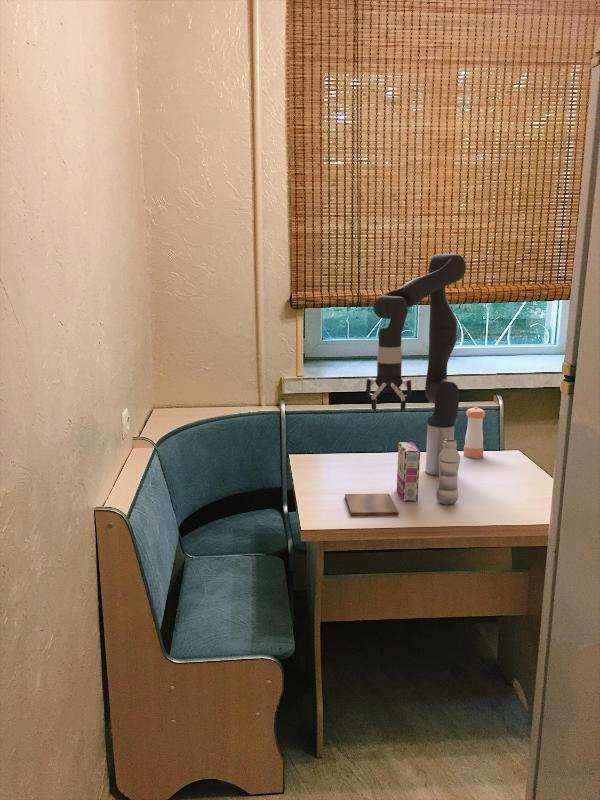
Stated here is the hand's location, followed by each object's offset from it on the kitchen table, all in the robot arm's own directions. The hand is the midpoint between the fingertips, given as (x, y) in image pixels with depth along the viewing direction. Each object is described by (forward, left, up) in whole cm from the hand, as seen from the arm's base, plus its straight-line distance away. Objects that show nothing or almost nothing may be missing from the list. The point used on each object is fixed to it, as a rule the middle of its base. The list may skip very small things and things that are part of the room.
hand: (388, 411), depth 222 cm
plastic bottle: (-17, +12, -27) cm, 34 cm away
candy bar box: (-6, +5, -27) cm, 28 cm away
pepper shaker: (-40, -39, -27) cm, 62 cm away
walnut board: (+7, +14, -27) cm, 31 cm away
